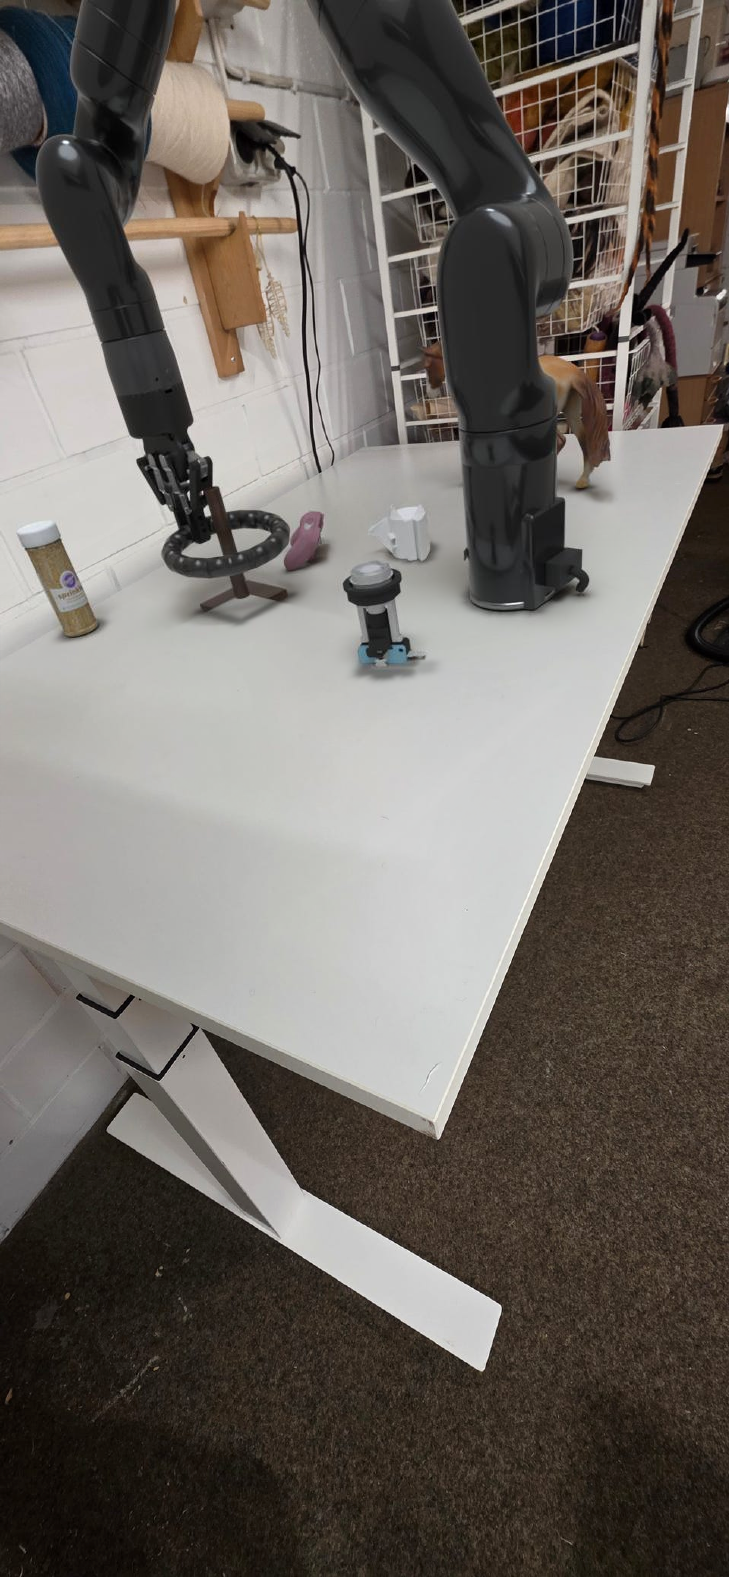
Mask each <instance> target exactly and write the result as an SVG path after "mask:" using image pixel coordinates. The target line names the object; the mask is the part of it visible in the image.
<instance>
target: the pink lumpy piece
mask: <svg viewBox="0 0 729 1577" xmlns="http://www.w3.org/2000/svg"><path fill="white" fill-rule="evenodd" d="M324 518H325V513H322V512H321V511H317V510H314V511H313V510H312V511H311V510H310V509H309V510H308V512H306V513H304V514H303V515H302V516H301V517H300V519H299V526H298V527H297V528H296V529H295V530H294V531H293V533H292V535H291V537H290V538H289V543H290V547H291V548H289V550H288V551H287V552H286V554H285V555H284V558H283V565H284V567H285V568H286V569H287V570H288V571H294V570H296V569H299V568H301V567H302V566H303V565H305V564H306V563H307V562H308V561H310V562H313V560H314V557H315V553H316V550H317V549H319V547H320V548H321V547H322V546H323V545H324V542H325V539H324V537H322V535H321V533H322V531H323V528H324Z"/></svg>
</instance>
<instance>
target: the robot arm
mask: <svg viewBox="0 0 729 1577" xmlns="http://www.w3.org/2000/svg"><path fill="white" fill-rule="evenodd" d="M305 1H306V4H307V6H308V8H309V11H310V12H311V15H312V17H313V19H314V22H315V24H316V26H317V28H318V30H319V33H320V34H321V37H322V38H323V40H324V42H325V44H326V47H327V48H328V50H329V52H330V54H331V56H332V58H333V60H334V62H335V63H336V66H337V67H338V70H339V72H340V73H341V75H342V77H343V79H344V80H345V83H346V84H347V85H348V87H349V89H350V91H351V92H352V94H353V95H354V97H355V99H356V100H357V102H358V103H359V105H360V106H361V107H362V108H363V110H364V111H365V112H366V114H368V115H369V117H370V118H371V119H372V120H373V121H374V123H375V124H376V125H377V126H378V127H379V128H380V129H381V130H382V131H383V132H384V134H386V135H387V137H389V138H390V139H391V140H392V141H393V143H395V144H396V146H398V148H399V149H400V150H401V151H402V152H403V153H404V154H405V155H407V157H409V158H410V160H412V162H413V163H414V164H415V165H416V166H417V167H418V168H419V169H420V170H421V171H422V172H423V173H424V174H425V176H426V177H427V178H428V179H429V180H430V182H431V183H432V184H433V185H434V186H435V188H436V190H437V191H438V193H439V195H440V196H441V198H442V199H443V201H444V203H445V204H446V206H447V208H448V210H449V212H450V214H451V216H452V219H453V220H454V221H452V223H451V224H450V226H449V227H448V229H447V231H446V233H445V234H444V237H443V239H442V242H441V245H440V248H439V252H438V256H437V263H436V270H435V272H436V273H435V295H436V297H435V299H436V310H437V319H438V329H439V335H440V336H439V337H440V340H441V345H442V353H443V361H444V369H445V383H446V388H447V392H448V395H449V398H450V400H451V401H452V404H453V405H454V408H455V410H456V416H457V424H458V425H457V426H458V439H459V440H458V441H459V452H460V467H461V468H460V470H461V481H462V482H461V483H462V494H463V509H464V523H465V535H466V537H465V539H466V547H465V549H464V550H463V562H465V561H466V560H467V563H468V576H469V577H468V578H469V598H470V601H471V602H472V603H473V604H475V605H476V606H478V607H480V608H484V609H489V610H496V611H511V610H521V609H525V610H532V611H533V610H536V609H538V608H539V606H541V605H542V604H544V603H546V602H547V601H549V600H550V599H551V598H553V597H554V596H555V595H556V594H558V593H559V592H560V591H562V590H564V588H565V586H566V585H568V584H569V583H570V582H572V581H573V580H575V579H577V580H578V583H577V584H576V585H575V588H574V589H575V591H576V592H577V593H583V592H585V591H586V589H587V588H588V586H589V584H590V577H589V575H588V573H587V571H585V570H584V569H583V548H576V547H575V548H574V547H569V546H568V547H567V546H566V499H565V497H563V496H558V493H557V492H558V455H557V429H558V416H559V414H557V412H558V390H557V384H556V382H555V380H554V379H553V378H552V377H551V376H549V375H547V374H545V373H544V371H543V370H542V368H541V365H540V362H539V357H540V356H539V346H538V329H537V328H538V324H539V323H541V322H543V321H544V320H546V319H548V318H549V317H550V316H551V315H552V314H554V313H555V312H557V310H558V309H559V307H560V306H561V304H562V303H563V302H564V301H565V298H566V296H567V293H568V292H569V288H570V285H571V282H572V278H573V273H574V272H573V271H574V257H575V256H574V246H573V240H572V235H571V232H570V228H569V225H568V223H567V220H566V218H565V215H564V214H563V212H562V211H561V208H560V207H559V205H558V203H557V202H556V200H555V198H554V197H553V195H552V193H551V192H550V190H549V188H548V187H547V186H546V184H545V182H544V180H543V179H542V177H541V176H540V174H539V172H538V171H537V169H536V168H535V166H534V164H533V163H532V161H531V159H530V158H529V156H528V154H527V153H526V151H525V149H524V148H523V147H522V145H521V143H520V141H519V140H518V138H517V136H516V134H515V133H514V131H513V129H512V128H511V126H510V124H509V123H508V122H509V121H507V118H506V116H505V114H504V112H503V111H502V108H501V107H500V104H499V102H498V99H497V97H496V96H495V93H494V92H493V89H492V87H491V84H490V82H489V80H488V77H487V75H486V73H485V70H484V69H483V66H482V64H481V62H480V60H479V57H478V55H477V53H476V50H475V48H474V46H473V44H472V42H471V40H470V38H469V36H468V34H467V32H466V29H465V28H464V26H463V24H462V23H463V22H462V21H461V19H460V17H459V15H458V12H457V10H456V8H455V6H454V3H453V1H452V0H305ZM176 8H177V0H81V1H80V7H79V12H78V17H77V22H76V26H75V31H74V38H73V41H72V46H71V51H70V59H69V75H70V79H71V82H72V84H73V87H74V88H75V90H76V92H77V101H76V108H75V109H76V110H75V116H74V125H73V131H72V134H65V133H64V134H56V135H53V136H51V137H49V138H48V139H46V140H45V141H44V142H43V144H42V145H41V146H40V148H39V151H38V153H37V156H36V160H35V161H36V162H35V181H36V189H37V192H38V197H39V200H40V203H41V204H40V205H41V207H42V210H43V212H44V216H45V218H46V221H47V223H48V225H49V227H50V229H51V232H52V234H53V236H54V238H55V240H56V242H57V244H58V246H59V248H60V250H61V252H62V254H63V256H64V258H65V260H66V262H67V264H68V267H69V268H70V270H71V272H72V273H73V275H74V277H75V279H76V281H77V283H78V284H79V286H80V288H81V290H82V292H83V294H84V296H85V300H86V304H87V307H88V310H89V313H90V316H91V319H92V323H93V326H94V329H95V331H96V334H97V337H98V340H99V342H100V346H101V350H102V354H103V359H104V362H105V367H106V371H107V373H108V377H109V379H110V382H111V385H112V388H113V391H114V394H115V398H116V399H117V400H116V401H117V402H118V406H119V408H120V411H121V414H122V418H123V420H124V423H125V426H126V428H127V431H128V434H129V436H130V438H133V439H134V440H135V439H136V440H141V441H142V448H143V451H144V455H143V456H140V457H138V458H136V459H135V462H136V465H137V467H138V469H139V470H140V472H141V475H143V477H144V479H145V481H146V483H147V484H148V486H149V487H150V489H151V491H152V493H153V494H154V496H155V498H156V499H157V501H158V503H159V504H160V505H161V506H165V505H166V506H167V508H168V510H169V511H170V512H171V513H173V517H174V519H175V522H176V526H177V528H178V529H179V528H181V527H183V526H185V525H187V524H189V528H190V531H191V533H192V536H193V540H194V544H198V545H202V544H205V543H207V542H209V541H210V540H211V539H212V535H211V534H210V530H209V527H208V524H207V520H206V517H207V516H206V514H205V508H206V507H207V506H208V503H207V500H206V496H205V493H204V490H205V489H206V488H209V487H213V486H214V483H213V482H214V463H213V459H212V458H211V457H210V455H206V456H203V457H202V456H201V455H199V454H198V453H197V452H196V447H195V444H194V442H193V441H192V438H191V437H190V435H189V433H188V429H189V428H190V427H191V426H192V425H193V424H194V422H195V420H194V415H193V412H192V409H191V405H190V401H189V398H188V395H187V392H186V391H187V390H186V388H185V384H184V380H183V377H182V374H181V370H180V366H179V363H178V360H177V357H176V353H175V351H174V348H173V346H172V344H171V340H170V338H169V336H168V333H167V330H166V329H165V328H166V327H165V324H164V320H163V317H162V316H163V315H162V313H161V308H160V305H159V302H158V299H157V296H156V292H155V290H154V285H153V283H152V281H151V279H150V277H149V274H148V273H147V271H146V270H145V268H144V267H142V265H140V264H139V263H138V262H137V260H136V258H135V257H134V254H133V251H132V249H131V246H130V243H129V240H128V237H127V235H126V232H125V228H126V226H127V225H128V223H129V222H130V221H131V218H132V216H133V213H134V210H135V208H136V204H137V201H138V198H139V192H140V188H141V182H142V175H143V168H144V161H145V160H144V159H145V152H146V144H147V133H148V132H147V131H148V123H149V118H150V116H151V112H152V109H153V106H154V102H155V99H156V96H157V92H158V89H159V85H160V81H161V78H162V74H163V71H164V66H165V63H166V59H167V55H168V51H169V48H170V43H171V40H172V35H173V30H174V25H175V24H174V23H175V15H176ZM188 493H189V495H188Z"/></svg>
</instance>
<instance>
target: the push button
mask: <svg viewBox="0 0 729 1577" xmlns="http://www.w3.org/2000/svg"><path fill="white" fill-rule="evenodd" d="M349 572H350V575H349V576H348V577H346V578H345V579H344V580H343V581H342V589H343V591H344V593H346V596H347V597H346V598H347V601H348V602H349V603H351V604H353V605H355V606H356V609H357V615H358V621H359V626H360V631H361V637H360V638H359V640H360V642H361V644H360V645H359V646H358V648H357V656H358V660H359V664H375V667H387V666H388V665H387V664H406V663H407V662H408V660H409V659H410V658H413V657H425V654H426V651H416V650H412V647H411V641H410V638H409V637H406V636H405V637H404V634H402V633H401V631H400V624H399V617H398V611H397V610H398V609H397V604H396V598H397V597H398V596H399V595H400V594H401V592H402V590H401V582H402V580H403V577H402V576H403V575H402V573H401V571H400V570H398V569H396V568H392V567H391V565H390V563H389V562H387V561H385V560H371V561H366V562H362V563H359V564H357V565H355V566H354V567H352V568H351V569H350V571H349Z"/></svg>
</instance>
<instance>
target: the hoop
mask: <svg viewBox="0 0 729 1577" xmlns="http://www.w3.org/2000/svg"><path fill="white" fill-rule="evenodd" d="M226 513H227V516H228V520H229V524H230V527H231V531H234V530H235V531H236V530H243V529H244V530H245V529H248V530H261V531H265V532H268V533H270V534H269V536H268V537H266V539H264V540H262V541H261V542H259V543H257V544H256V545H254V546H252V547H250V548H247V549H244V550H240V551H237V553H234V554H231V555H226V556H223V555H219V556H213V557H195V556H188V555H186V554H183V552H184V550H186V549H187V548H188V547H189V546H190V545H192V544H195V542H194V540H193V536H192V533H191V531H190V528H189V524H187V525H185V526H183V527H181V528H178V529H177V530H175V531H174V532H173V533H171V535H169V536H168V537H167V538H166V540H165V542H164V544H163V547H162V549H161V552H160V555H161V558H162V560H163V562H164V564H165V566H166V567H167V568H168V570H170V571H171V572H173V573H176V574H179V575H181V576H183V577H186V578H193V579H194V578H195V579H196V578H197V579H216V578H217V579H218V578H225V577H229V576H232V575H236V574H240V573H246V572H248V571H252V570H255V569H258V568H261V566H263V565H265V564H267V563H269V562H271V561H273V560H274V559H277V557H278V556H279V555H281V553H282V552H283V551H284V550H285V549H286V548H287V547H288V545H289V543H290V539H291V537H290V536H291V527H290V525H289V524H288V522H286V521H285V520H284V519H283V518H282V517H281V516H280V515H279V514H276V513H274V512H273V513H272V512H269V511H265V510H262V509H237V510H236V509H235V510H229V511H226ZM205 517H206V520H207V524H208V527H209V530H210V534H211V536H212V535H217V533H216V530H215V527H214V523H213V520H212V517H211V514H210V515H207V516H205Z"/></svg>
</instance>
